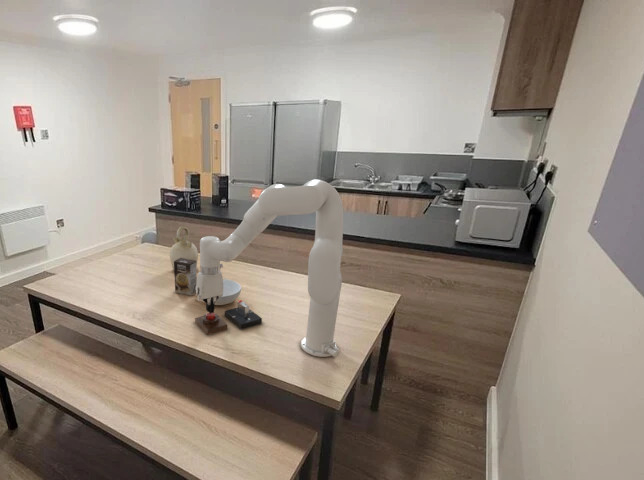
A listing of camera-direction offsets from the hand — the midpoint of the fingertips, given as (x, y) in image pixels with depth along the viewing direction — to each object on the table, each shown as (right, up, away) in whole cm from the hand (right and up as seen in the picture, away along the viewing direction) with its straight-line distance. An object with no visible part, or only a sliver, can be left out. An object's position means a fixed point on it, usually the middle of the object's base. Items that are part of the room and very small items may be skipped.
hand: (210, 311), depth 150 cm
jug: (-15, +18, +59) cm, 63 cm away
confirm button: (0, -3, +1) cm, 3 cm away
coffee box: (-12, +7, +33) cm, 36 cm away
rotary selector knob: (+13, -2, +6) cm, 15 cm away
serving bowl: (+4, +3, +24) cm, 24 cm away
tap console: (+13, -4, +7) cm, 16 cm away
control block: (0, -6, +3) cm, 7 cm away
